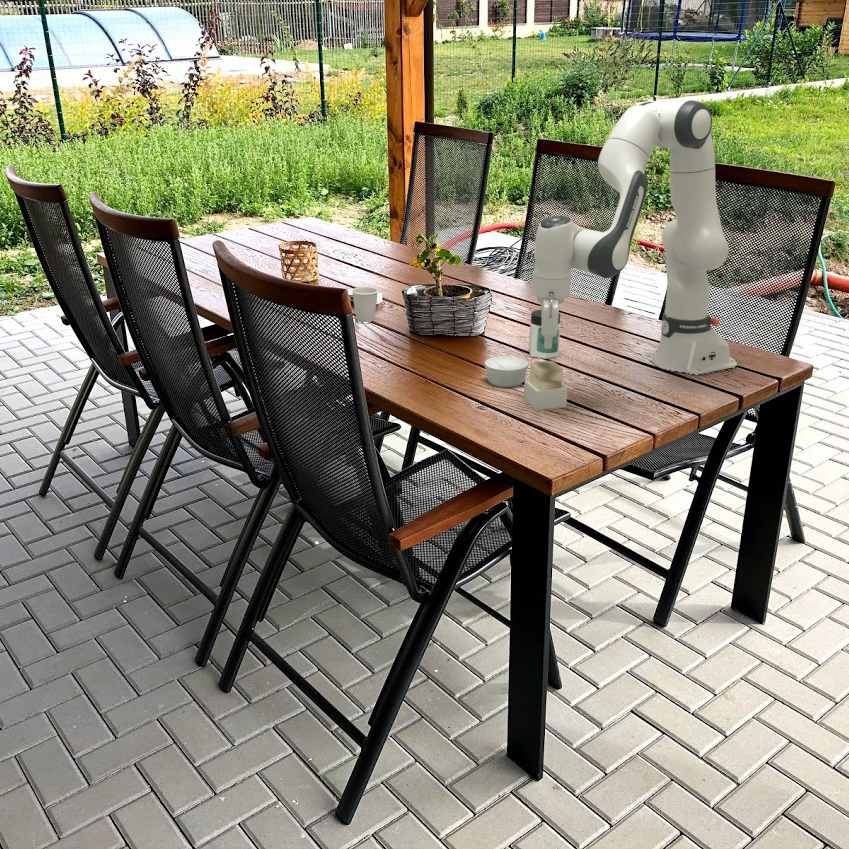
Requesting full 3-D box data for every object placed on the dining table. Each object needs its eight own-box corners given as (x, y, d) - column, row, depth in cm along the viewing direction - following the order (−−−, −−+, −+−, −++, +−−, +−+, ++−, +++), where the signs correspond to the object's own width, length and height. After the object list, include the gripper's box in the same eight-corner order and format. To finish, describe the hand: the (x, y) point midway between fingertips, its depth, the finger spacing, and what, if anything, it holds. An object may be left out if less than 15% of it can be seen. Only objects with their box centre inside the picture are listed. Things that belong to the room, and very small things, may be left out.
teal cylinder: (552, 345, 226) (553, 326, 224) (560, 352, 221) (562, 332, 219) (533, 347, 225) (534, 327, 223) (541, 353, 220) (542, 333, 218)
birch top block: (551, 379, 230) (552, 360, 228) (561, 387, 225) (562, 368, 223) (529, 381, 228) (530, 362, 226) (538, 390, 223) (539, 370, 221)
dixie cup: (377, 324, 288) (377, 293, 285) (351, 324, 289) (350, 293, 285) (379, 317, 296) (379, 286, 292) (353, 317, 296) (352, 286, 292)
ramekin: (475, 382, 242) (476, 363, 239) (499, 371, 250) (500, 352, 248) (512, 392, 235) (512, 372, 233) (535, 380, 243) (536, 361, 241)
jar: (523, 355, 262) (525, 314, 257) (534, 347, 268) (536, 307, 263) (552, 360, 258) (555, 319, 253) (563, 352, 264) (566, 312, 259)
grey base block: (553, 396, 233) (554, 377, 231) (566, 407, 226) (567, 388, 224) (523, 399, 231) (524, 380, 229) (535, 410, 224) (536, 391, 222)
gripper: (565, 299, 207) (561, 358, 213) (563, 277, 226) (560, 331, 231) (537, 298, 208) (534, 356, 213) (537, 276, 226) (534, 330, 232)
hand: (547, 343), depth 222 cm, fingers closed on teal cylinder, 5 cm apart
